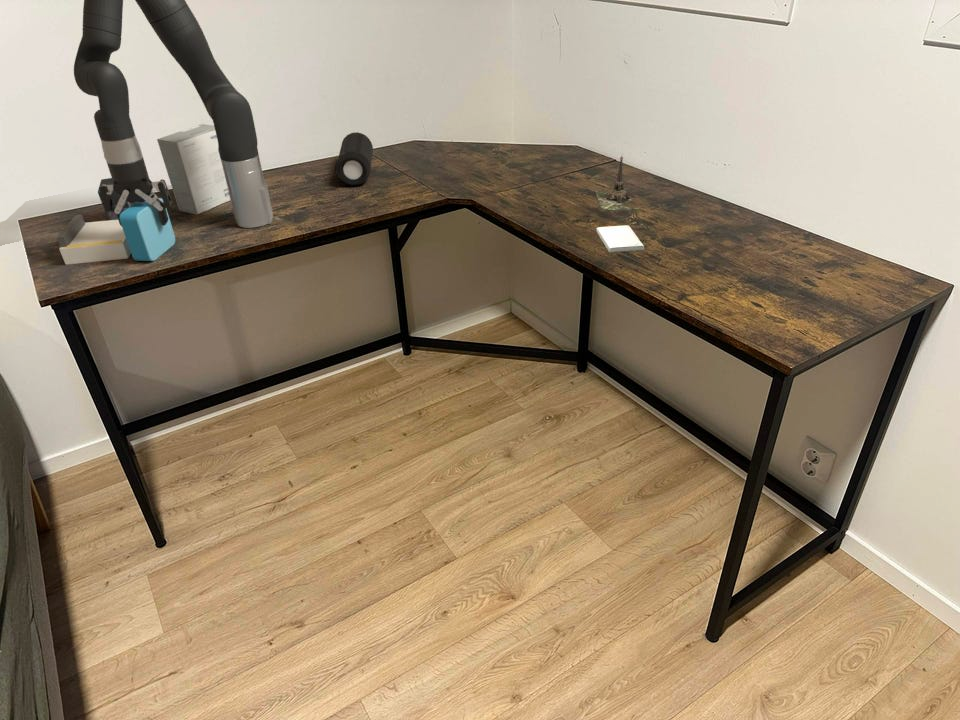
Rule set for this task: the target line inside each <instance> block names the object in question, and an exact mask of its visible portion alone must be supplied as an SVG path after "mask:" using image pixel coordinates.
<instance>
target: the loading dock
mask: <svg viewBox="0 0 960 720" xmlns="http://www.w3.org/2000/svg"><path fill="white" fill-rule="evenodd" d="M56 240H57V242H58V245H59V251H60V254H61V256H62V259H63V261H64V264H65V265H76V264H86V263H96V262H106V261H117V260H126V259H129V257H130V256H131V255H132V254H131V251H130V248H129V245H128V242H127V239H126V237H125V234H124V231H123V228H122V226H121V225H120V224H119V220H109V221H108V220H100V221H99V220H98V221H91V222H90V221H89V222H85V220H84V217H83V214H75V215H74V216H73V217H72V219H70V221H69V222H68V224H67V225H66V226H65V227H64V228H63V229H62V230H61V231H60V233H59V234H58V235H57V236H56Z"/></svg>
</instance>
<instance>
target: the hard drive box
mask: <svg viewBox="0 0 960 720" xmlns="http://www.w3.org/2000/svg"><path fill="white" fill-rule="evenodd" d="M156 140H157V143H158V144H157V145H158V146H159V147H158V148H159V150H160V154H161V156H162V160H163V163H164V166H165V170H166V173H167V175H168V179H169V182H170V184H171V185H170V186H171V188H172V191H173V195H174V199H175V202H176V205H177V207H178V210H179V212H183V213H186V214H187V213H188V214H192V215H195V216H196V215H199V214H201V213H205V212H207V211H209V210H211V209H213V208H215V207H218V206H220V205H222V204H225V203H227V202H231V199H230V195H229V191H228V187H227V183H226V179H225V175H224V171H223V167H222V163H221V159H220V155H219V151H218V140H217V136H216V131H215V127H214V124H213V125H212V124H205V123H201V124H198V125H195V126H192V127H189V128H185V129H182V130H180V131H178V132H174V133H172V134H169V135H166V136H162V137H160V138H157V139H156Z"/></svg>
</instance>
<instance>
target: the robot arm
mask: <svg viewBox="0 0 960 720" xmlns="http://www.w3.org/2000/svg"><path fill="white" fill-rule="evenodd" d="M134 1H135V3H136V4H137V5H138V7H139V9H140V10H141V12H142V13H143V16H144V17H145V19H146V21H147V22H148V23H149V25H150V26H151V29H152V30H153V31H154V33H155V34H156V36H157V37H158V39H159V40H160V41H161V42H162V43H161V44H163V46H164V47H165V49H166V50H167V51H168V52H169V54H170V55H171V56H172V58H173V59H174V60H175V61H176V62H177V64H178V65H179V66H180V67H181V69H182V70H183V72H184V73H185V74H187V76H188V78H189V81H191V83H192V85H193V86H194V88H195V91H196V92H197V93H198V95H199V99H201V102H202V104H203V106H204V108H205V110H206V112H207V114H208V116H209V117H210V119H211V120H212V123H213V126H214V127H215V131H216V136H217V140H218V151H219V155H220V159H221V163H222V167H223V171H224V175H225V179H226V183H227V187H228V191H229V195H230V199H231V200H230V204H231V206H232V211H233V215H234V219H235V223H236V225H237V226H238V227H241V228H245V229H246V228H247V229H248V228H249V229H250V228H257V227H262V226H265V225H269V224H270V225H271V224H272V223H273V218H274V212H273V209H272V203H271V198H270V195H269V189H268V185H267V181H266V180H265V177H264V173H263V168H262V164H261V159H260V155H259V154H260V153H259V150H258V137H257V136H258V135H257V131H256V130H257V129H256V126H255V122H254V121H255V120H254V117H253V111H252V109H251V105H250V103H249V101H248V99H247V98H246V97H245V96H244V95H243V94H241V93H240V92H239V91H238V90H237V89H236V88H235V87H234V85H233V84H232V82H230V80H229V79H228V78H227V76H226V75H225V73H224V72H223V70H222V69H221V68H220V67H221V66H219V64H218V63H217V60H216V59H215V57H214V55H213V52H212V51H211V50H212V49H211V48H210V45H209V43H208V40H207V38H206V36H205V33H204V31H203V29H202V27H201V25H200V24H199V21H198V20H197V18H196V17H195V15H194V13H193V11H192V10H191V8H190V6H189V4H188V3H187V1H186V0H134ZM123 9H124V0H83V9H82V10H83V11H82V36H81V39H80V41H79V44H78V48H77V52H76V55H75V59H74V63H73V77H74V80H75V83H76V85H77V87H78V88H79V89H80V91H81V92H83V93H84V94H86V95H88V96H92V97H96V98H97V99H98V107H99V109H98V110H97V111H95V113H94V115H93V120H94V123H95V127H96V130H97V132H98V135H99V139H100V142H101V148H102V151H103V157H104V160H105V161H106V165H107V168H108V171H109V175H110V178H112V180H113V185H108V184H106V183H104V184H103V185H102V186H101V187H100V192H101V195H102V199H103V203H104V206H105V210H106V211H107V212H114V213H116V215H117V218H118V220H119V224H120V225H121V222H120V214H121V213H122V212H123V208H124V205H125V203H126V202H130V203H134V202H135V203H136V202H144V201H147V202H148V203H149V204H150V205H153V206H154V207H155V208H157V209H158V215H159V218H160V221H161V225H162V226H164V225H166V223H167V222H168V216H169V214H168V215H167V212H168V211H167V212H166V209H167V208H170V207H171V205H172V204H173V199H172V196H171V194H170V191H169V188H168V186H167V182H166V180H165V179H163V178H162V179H159V181H152V180H151V178H150V177H149V173H148V170H147V166H146V162H145V158H144V156H143V152H142V149H141V146H140V144H139V140H138V139H137V135H136V133H135V129H134V127H133V123H132V120H131V117H130V98H129V95H130V94H129V87H128V83H127V79H126V77H125V76H124V74H123V72H122V71H121V69H120V68H119V67H118V66H116V65H115V64H114V63H111V62H110V59H111V55H112V53H114V52H117V51H119V50H120V48H121V45H122V44H121V43H122V35H123V30H122V29H123ZM153 189H156V191H158V192H159V193H160V196H161V199H163V202H162V201H161V200H160V199H159V198H160V197H158V195H156V194H155V193H154V192H153ZM113 190H114V191H115V192H116V193H117V194H118V195H120V196H121V197H120V199H119V201H118V203H117V206H116V205H114V204H113V201H112V197H111V194H112V192H113ZM105 210H104V211H105ZM121 226H122V225H121Z"/></svg>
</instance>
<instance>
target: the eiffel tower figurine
mask: <svg viewBox="0 0 960 720" xmlns="http://www.w3.org/2000/svg"><path fill="white" fill-rule="evenodd" d="M623 160H624V157H623V155H621V156H620V158H619V167H618V171H617V176H616V177H617V178H616V181H615V184H614V186H613V188H612V189H611V192H610V193H609V194H608V196H607V197H603V196H604V195H606V194H607V192H606V191H604V190H594V194H595V197H596V199H597V202H598V204H599V208H600V209H603V210H606V211H630V210H639V207H631V206H630V207H629V206H623V205H624V204H627V203H630V202H631V201H632V198H631V197H630V196H629V194H628V193H627V189H625V187H624V181H623V180H624V179H623ZM623 196H624V197H623Z"/></svg>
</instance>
